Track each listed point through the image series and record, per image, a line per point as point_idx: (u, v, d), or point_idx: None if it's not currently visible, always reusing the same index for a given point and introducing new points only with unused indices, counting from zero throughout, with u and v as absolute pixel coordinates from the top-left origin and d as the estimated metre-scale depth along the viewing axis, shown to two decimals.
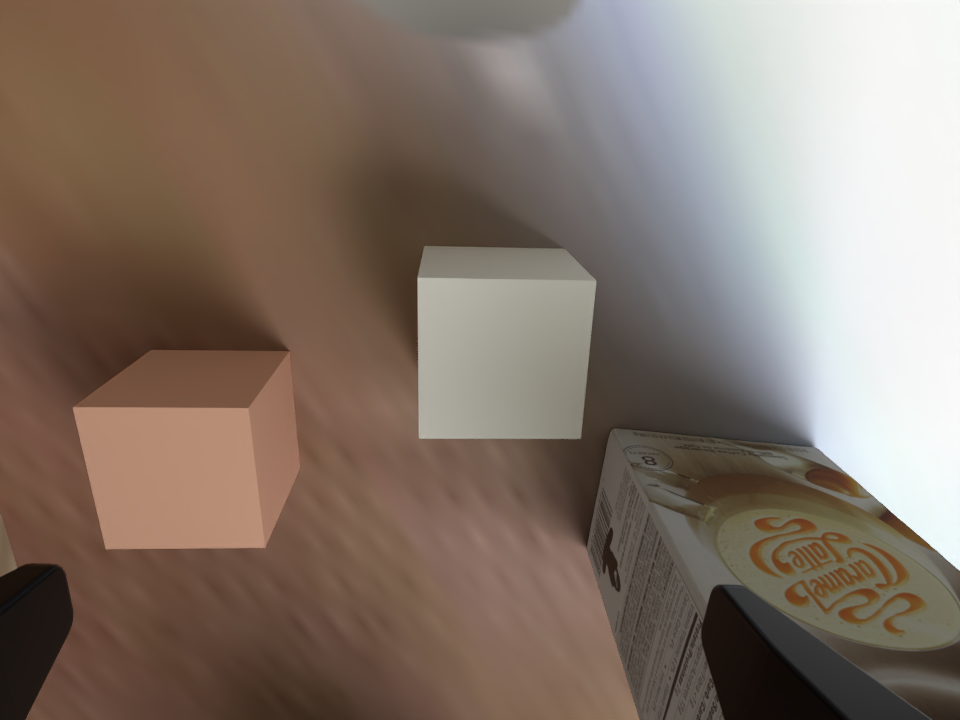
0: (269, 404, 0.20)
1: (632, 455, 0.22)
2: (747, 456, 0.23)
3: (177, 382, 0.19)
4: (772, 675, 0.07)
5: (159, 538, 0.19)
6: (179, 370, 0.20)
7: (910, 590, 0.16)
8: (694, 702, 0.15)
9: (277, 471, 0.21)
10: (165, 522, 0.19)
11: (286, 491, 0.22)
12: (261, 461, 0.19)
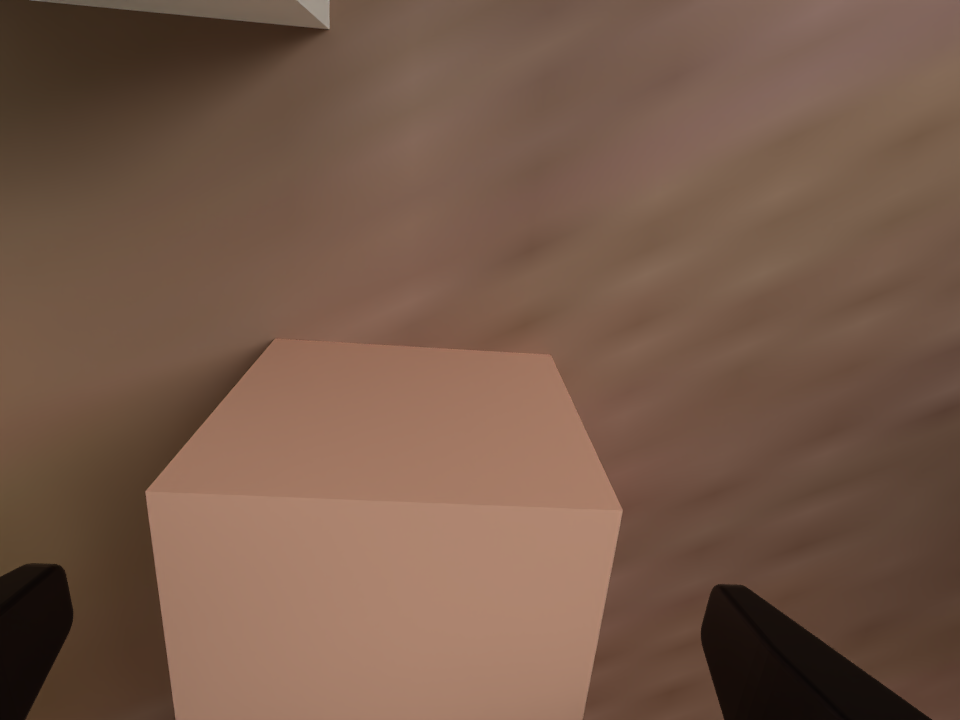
0: (276, 413, 0.08)
1: None
2: None
3: None
4: (772, 675, 0.07)
5: None
6: None
7: None
8: None
9: (468, 420, 0.08)
10: (505, 710, 0.07)
11: (554, 400, 0.09)
12: (362, 471, 0.07)
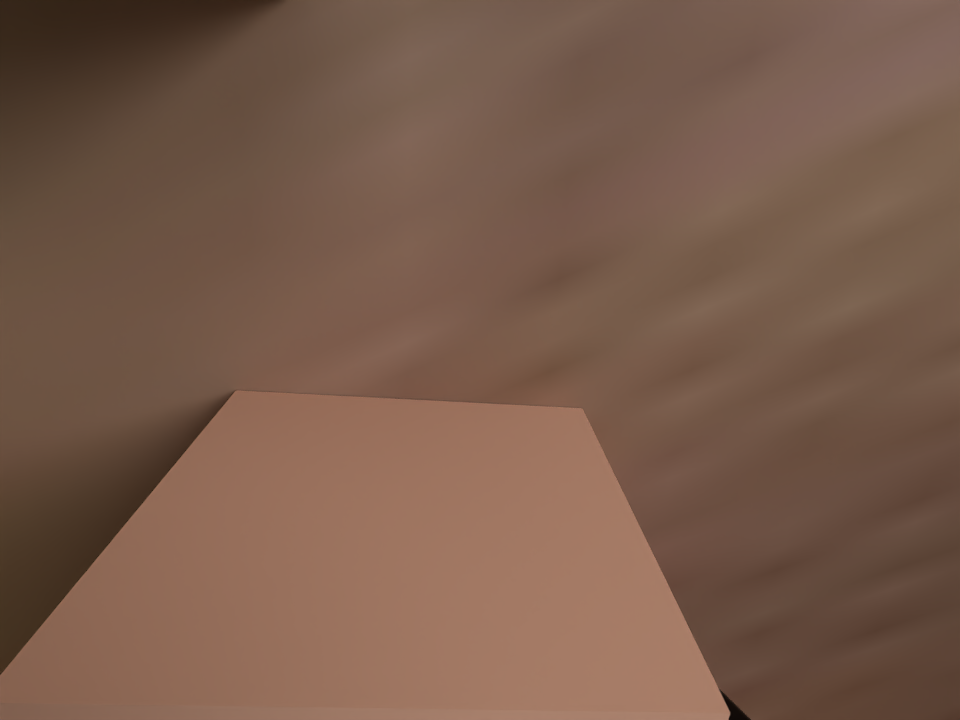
0: (216, 523, 0.06)
1: None
2: None
3: None
4: None
5: None
6: None
7: None
8: None
9: (485, 528, 0.06)
10: None
11: (597, 487, 0.07)
12: (331, 638, 0.05)
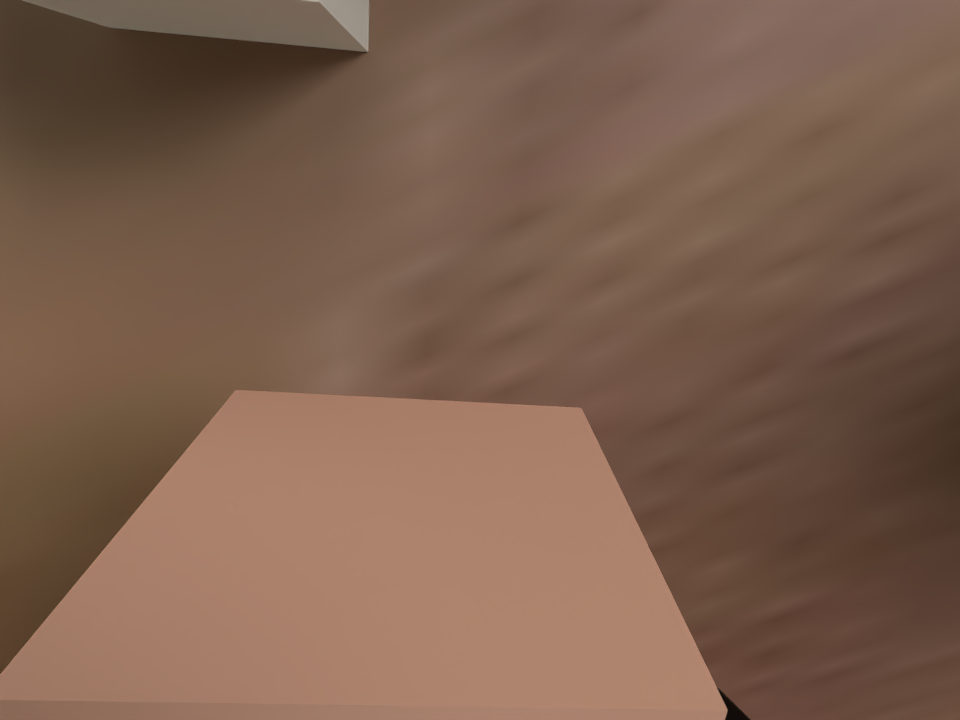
0: (216, 522, 0.06)
1: None
2: None
3: None
4: None
5: None
6: None
7: None
8: None
9: (485, 527, 0.06)
10: None
11: (596, 486, 0.07)
12: (330, 636, 0.05)
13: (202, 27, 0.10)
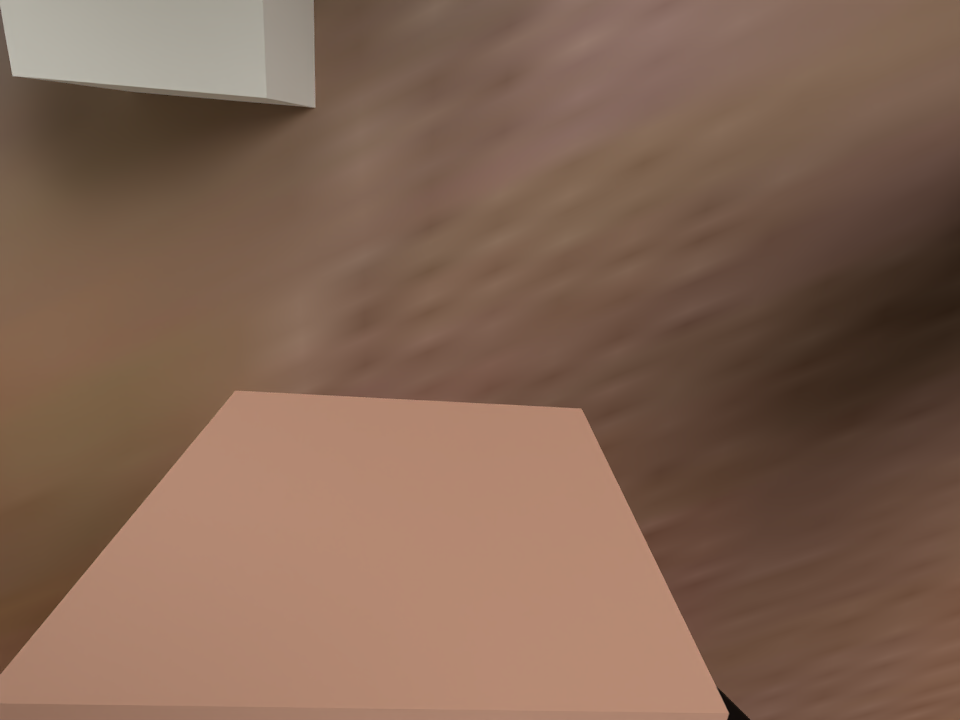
0: (216, 524, 0.06)
1: None
2: None
3: None
4: None
5: None
6: None
7: None
8: None
9: (484, 529, 0.06)
10: None
11: (596, 488, 0.07)
12: (329, 638, 0.05)
13: (197, 96, 0.15)
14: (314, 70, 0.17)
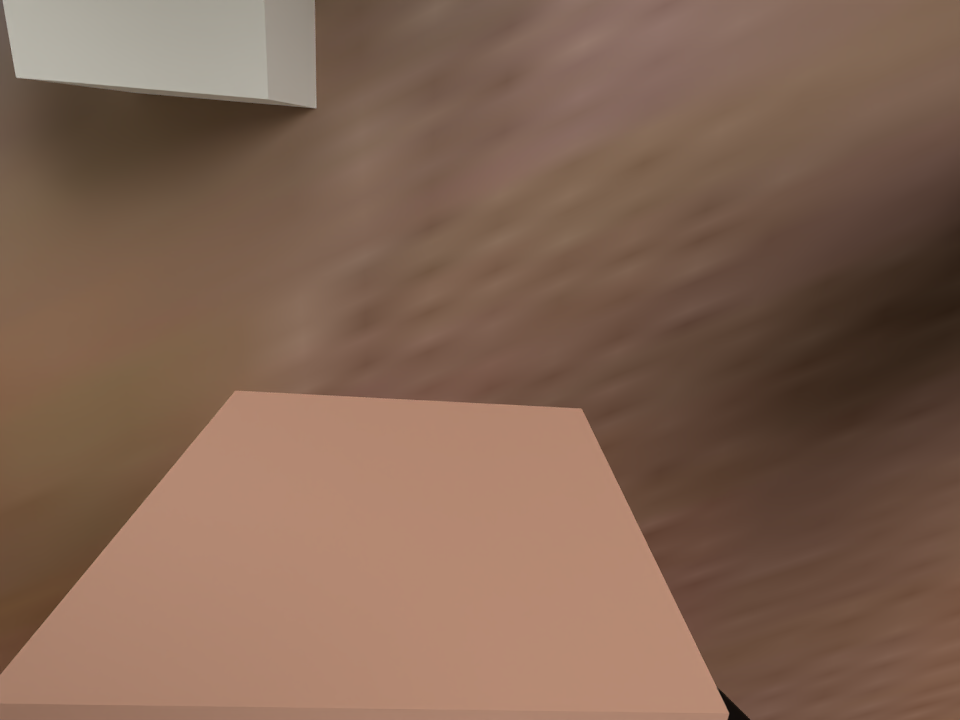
0: (215, 523, 0.06)
1: None
2: None
3: None
4: None
5: None
6: None
7: None
8: None
9: (485, 529, 0.06)
10: None
11: (597, 488, 0.07)
12: (329, 639, 0.05)
13: (199, 97, 0.16)
14: (315, 71, 0.17)
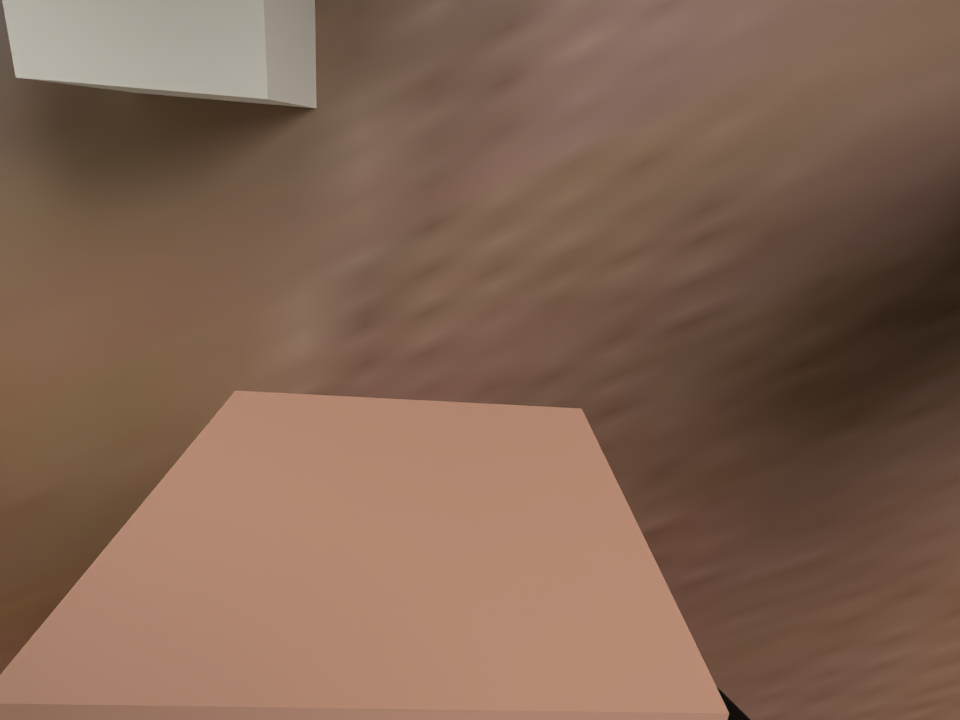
0: (215, 523, 0.06)
1: None
2: None
3: None
4: None
5: None
6: None
7: None
8: None
9: (485, 529, 0.06)
10: None
11: (597, 488, 0.07)
12: (329, 639, 0.05)
13: (199, 97, 0.16)
14: (315, 71, 0.17)
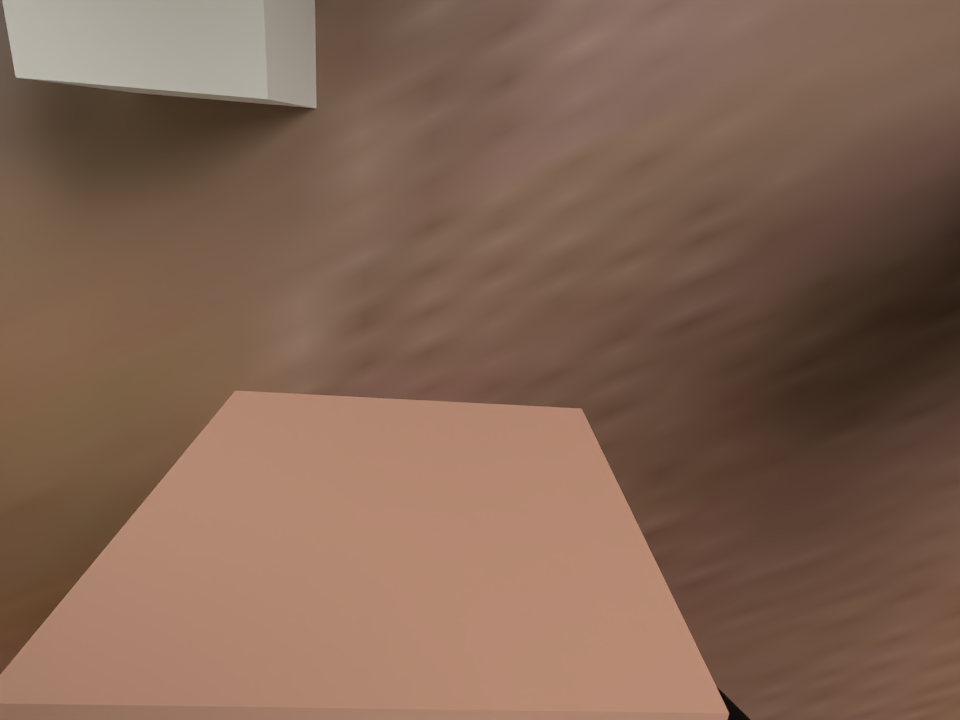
0: (215, 523, 0.06)
1: None
2: None
3: None
4: None
5: None
6: None
7: None
8: None
9: (485, 529, 0.06)
10: None
11: (597, 488, 0.07)
12: (329, 639, 0.05)
13: (199, 97, 0.16)
14: (315, 71, 0.17)
